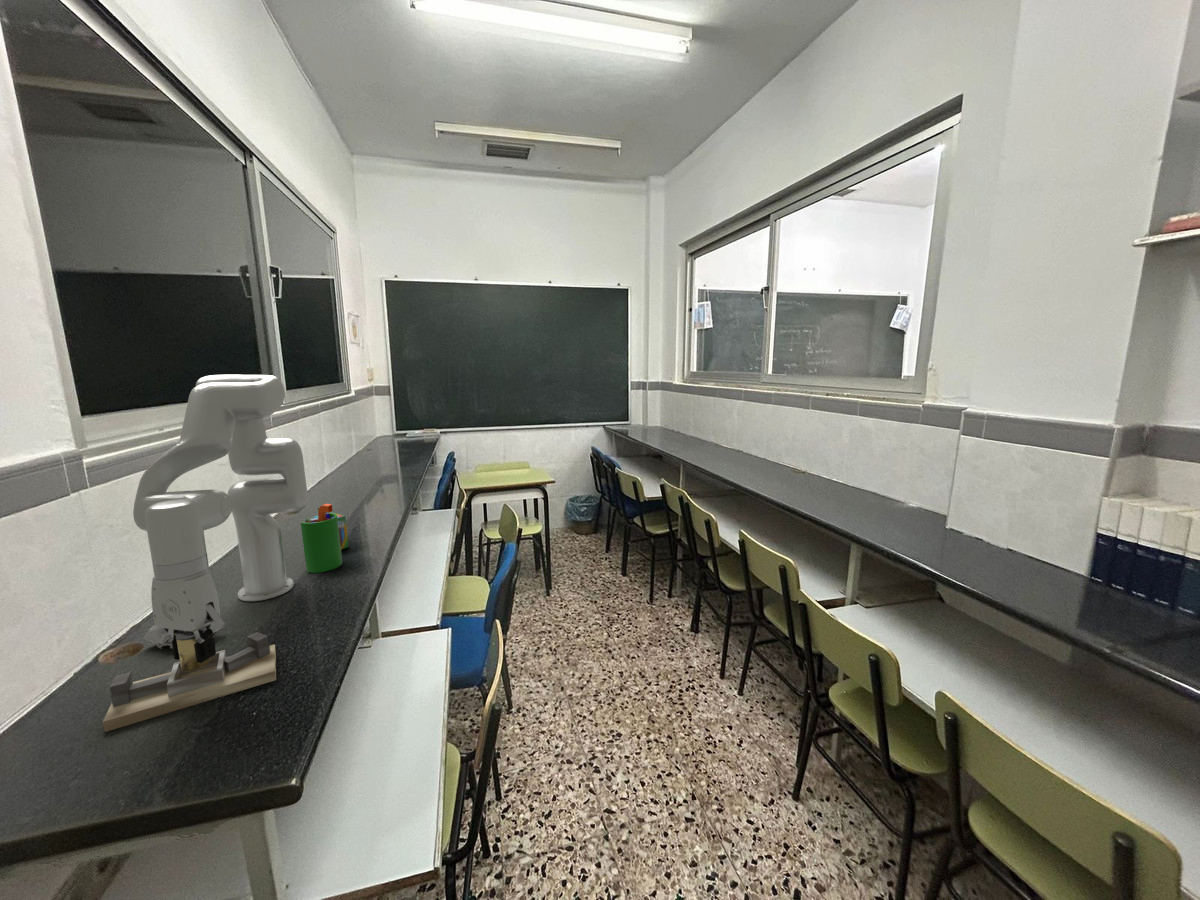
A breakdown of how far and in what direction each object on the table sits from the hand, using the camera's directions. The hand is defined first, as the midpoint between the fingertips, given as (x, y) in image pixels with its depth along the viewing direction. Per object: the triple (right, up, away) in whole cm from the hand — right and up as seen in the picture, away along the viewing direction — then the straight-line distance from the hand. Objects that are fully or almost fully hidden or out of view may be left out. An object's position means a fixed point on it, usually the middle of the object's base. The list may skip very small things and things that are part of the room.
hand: (195, 656), depth 89 cm
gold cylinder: (0, -2, 0) cm, 2 cm away
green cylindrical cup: (-8, +3, +57) cm, 57 cm away
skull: (-17, -4, +16) cm, 24 cm away
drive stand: (0, -7, +1) cm, 7 cm away
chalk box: (-15, +5, +70) cm, 72 cm away
